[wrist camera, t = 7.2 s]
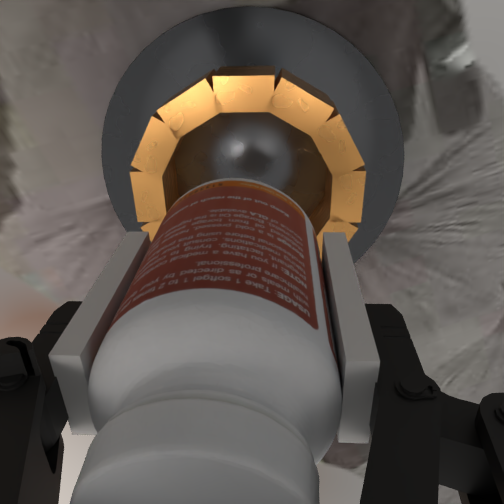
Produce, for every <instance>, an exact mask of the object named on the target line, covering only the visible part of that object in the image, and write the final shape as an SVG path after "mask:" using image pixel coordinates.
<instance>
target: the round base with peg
mask: <svg viewBox="0 0 504 504" xmlns="http://www.w3.org/2000/svg"><path fill="white" fill-rule="evenodd" d="M102 165H103V173H104V179H105V183H106V187H107V191H108V195H109V197H110V200H111V202H112V205H113V207H114V210H115V212H116V214H117V216H118V217H119V219H120V221H121V223H122V225H123V227H124V228H125V230H126V231H127V232H149V237H150V244H151V243H152V241H153V239H154V237H155V235H156V233H157V231H158V229H159V227H160V225H161V223H162V221H163V219H164V217H165V216H166V214H167V213H168V211H169V210H170V208H171V207H172V206H173V204H174V203H175V202H176V201H177V200H178V199H179V198H180V197H181V196H183V195H184V194H185V193H187V192H188V191H190V190H191V189H193V188H195V187H197V186H199V185H201V184H204V183H206V182H209V181H213V180H217V179H224V178H244V179H251V180H255V181H259V182H262V183H265V184H268V185H270V186H272V187H274V188H276V189H278V190H280V191H281V192H283V193H285V194H286V195H288V196H289V197H290V198H291V199H293V200H294V201H295V202H296V203H297V204H298V205H299V206H300V207H301V208H302V210H303V211H304V212H305V214H306V215H307V217H308V218H309V220H310V222H311V224H312V226H313V228H314V231H315V234H316V237H317V241H318V246H319V251H320V258H321V260H322V243H323V232H345V235H346V238H347V242H348V246H349V249H350V253H351V256H352V260H353V264H354V263H355V262H356V261H357V260H358V259H359V258H360V257H362V256H363V254H364V253H365V252H366V251H367V250H368V249H369V248H370V247H371V245H372V244H373V243H374V242H375V240H376V239H377V238H378V236H379V235H380V233H381V232H382V230H383V229H384V227H385V225H386V223H387V221H388V219H389V217H390V216H391V214H392V212H393V209H394V206H395V203H396V200H397V198H398V195H399V191H400V186H401V181H402V177H403V165H404V146H403V135H402V130H401V125H400V121H399V116H398V113H397V111H396V108H395V105H394V102H393V100H392V97H391V95H390V93H389V91H388V89H387V88H386V86H385V84H384V82H383V80H382V78H381V77H380V76H379V74H378V73H377V72H376V70H375V69H374V67H373V66H372V65H371V63H370V62H369V61H368V60H367V59H366V58H365V57H364V56H363V55H362V54H361V53H360V52H359V51H358V50H357V49H356V48H355V47H354V46H353V45H352V44H351V43H350V42H348V41H347V40H346V39H344V38H343V37H341V36H340V35H339V34H337V33H336V32H335V31H333V30H332V29H330V28H328V27H326V26H324V25H322V24H320V23H319V22H317V21H315V20H313V19H310V18H307V17H305V16H302V15H299V14H296V13H293V12H290V11H285V10H280V9H275V8H269V7H249V6H246V7H236V8H226V9H221V10H217V11H213V12H209V13H205V14H201V15H199V16H197V17H194V18H192V19H189V20H187V21H185V22H182V23H180V24H178V25H177V26H175V27H173V28H172V29H170V30H168V31H167V32H165V33H163V34H162V35H161V36H159V37H158V38H157V39H156V40H155V41H153V42H152V43H151V44H150V45H149V46H147V47H146V48H145V49H144V50H143V51H142V52H141V53H140V55H139V56H138V57H137V58H136V59H135V60H134V61H133V62H132V63H131V65H130V66H129V68H128V69H127V71H126V72H125V74H124V75H123V77H122V78H121V80H120V81H119V83H118V85H117V88H116V90H115V92H114V94H113V96H112V98H111V101H110V104H109V107H108V111H107V114H106V117H105V122H104V128H103V135H102Z"/></svg>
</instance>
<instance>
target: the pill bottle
mask: <svg viewBox="0 0 504 504" xmlns="http://www.w3.org/2000/svg"><path fill="white" fill-rule="evenodd" d="M88 403H89V410H90V414H91V419H92V422H93V424H94V427H95V429H96V431H97V433H98V434H97V435H96V436H95V438H94V439H93V441H92V443H91V445H90V447H89V449H88V452H87V456H86V458H85V461H84V464H83V466H82V469H81V472H80V475H79V477H78V480H77V482H76V485H75V487H74V490H73V493H72V497H71V501H70V504H319V475H318V470H317V467H316V465H317V464H318V462H319V461H320V460H321V459H322V458H323V457H324V455H325V454H326V452H327V451H328V449H329V447H330V446H331V444H332V442H333V440H334V437H335V435H336V433H337V430H338V427H339V423H340V419H341V412H342V392H341V384H340V374H339V367H338V362H337V356H336V350H335V344H334V338H333V331H332V325H331V319H330V311H329V306H328V299H327V293H326V287H325V281H324V275H323V269H322V263H321V258H320V251H319V246H318V241H317V237H316V234H315V231H314V228H313V226H312V224H311V222H310V220H309V218H308V217H307V215H306V214H305V212H304V211H303V210H302V208H301V207H300V206H299V205H298V204H297V203H296V202H295V201H294V200H293V199H291V198H290V197H289V196H288V195H286V194H285V193H283V192H281V191H280V190H278V189H276V188H274V187H272V186H270V185H268V184H265V183H262V182H259V181H255V180H251V179H244V178H224V179H217V180H213V181H209V182H206V183H204V184H201V185H199V186H197V187H195V188H193V189H191V190H190V191H188V192H187V193H185V194H184V195H183V196H181V197H180V198H179V199H178V200H177V201H176V202H175V203H174V204H173V206H172V207H171V208H170V210H169V211H168V213H167V214H166V216H165V217H164V219H163V221H162V223H161V225H160V227H159V229H158V231H157V233H156V235H155V237H154V239H153V241H152V243H151V245H150V247H149V249H148V251H147V253H146V255H145V257H144V259H143V261H142V263H141V265H140V267H139V269H138V271H137V273H136V275H135V277H134V279H133V281H132V283H131V285H130V287H129V289H128V291H127V293H126V295H125V297H124V299H123V301H122V303H121V305H120V307H119V309H118V311H117V313H116V315H115V317H114V319H113V321H112V323H111V325H110V327H109V329H108V331H107V333H106V335H105V337H104V340H103V342H102V344H101V346H100V348H99V350H98V353H97V355H96V357H95V360H94V362H93V365H92V369H91V373H90V377H89V383H88Z"/></svg>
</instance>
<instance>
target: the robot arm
mask: <svg viewBox="0 0 504 504" xmlns="http://www.w3.org/2000/svg"><path fill="white" fill-rule="evenodd" d="M150 245H151V244H150V237H149V232H127V234H126V235H125V237H124V238H123V240H122V241H121V243H120V245H119V246H118V248H117V249H116V251H115V252H114V254H113V255H112V257H111V259H110V260H109V262H108V263H107V265H106V266H105V268H104V269H103V271H102V273H101V274H100V276H99V277H98V279H97V280H96V282H95V283H94V285H93V287H92V288H91V290H90V291H89V293H88V294H87V296H86V297H85V299H84V300H83V301H68V302H66V303H65V304H63V305H62V306H61V307H59V308H58V309H57V310H55V311H54V312H53V314H52V315H51V316H50V318H49V319H48V321H47V322H46V325H44V326H43V328H42V329H41V330H40V334H38V335H37V336H36V337H35V339H34V340H33V342H32V343H31V342H30V341H29V340H28V339H26V338H21V337H8V338H5V339H1V340H0V504H58V501H59V492H60V482H61V472H62V463H63V453H64V452H63V451H64V443H63V438H62V435H61V432H62V430H63V428H64V426H65V424H66V422H67V420H68V422H69V425H70V428H71V432H72V434H73V435H97V434H98V433H97V431H96V429H95V427H94V424H93V422H92V419H91V414H90V410H89V403H88V383H89V377H90V373H91V369H92V365H93V362H94V360H95V357H96V355H97V353H98V350H99V348H100V346H101V344H102V342H103V340H104V337H105V335H106V333H107V331H108V329H109V327H110V325H111V323H112V321H113V319H114V317H115V315H116V313H117V311H118V309H119V307H120V305H121V303H122V301H123V299H124V297H125V295H126V293H127V291H128V289H129V287H130V285H131V283H132V281H133V279H134V277H135V275H136V273H137V271H138V269H139V267H140V265H141V263H142V261H143V259H144V257H145V255H146V253H147V251H148V249H149V247H150ZM321 263H322V269H323V275H324V281H325V287H326V293H327V299H328V306H329V311H330V319H331V325H332V331H333V338H334V344H335V350H336V356H337V362H338V367H339V374H340V384H341V392H342V412H341V419H340V423H339V427H338V430H337V436H338V442H344V443H368V442H369V435H370V431H371V436H372V442H371V447H370V452H369V457H368V463H367V468H366V473H365V478H364V484H363V489H362V494H361V499H360V504H438V486H439V484H440V485H443V486H446V487H449V488H452V489H455V490H458V492H459V496H460V499H461V503H462V504H504V393H491V394H489V395H487V396H485V397H483V399H482V401H481V402H480V404H476V403H472V402H468V401H465V400H461V399H457V398H454V397H451V396H449V395H447V394H445V393H443V392H441V391H440V388H439V386H438V385H437V384H436V383H435V381H434V380H432V379H431V378H429V377H428V376H427V375H425V373H424V371H423V368H422V366H421V363H420V360H419V358H418V355H417V353H416V350H415V347H414V345H413V342H412V339H410V334H409V332H408V329H407V326H406V324H405V321H404V318H403V316H402V314H401V313H400V312H399V311H398V310H397V309H396V308H394V307H393V306H392V305H391V304H364V300H363V297H362V293H361V289H360V286H359V282H358V278H357V275H356V271H355V267H354V264H353V260H352V256H351V253H350V249H349V246H348V242H347V238H346V235H345V232H323V243H322V260H321Z"/></svg>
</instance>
